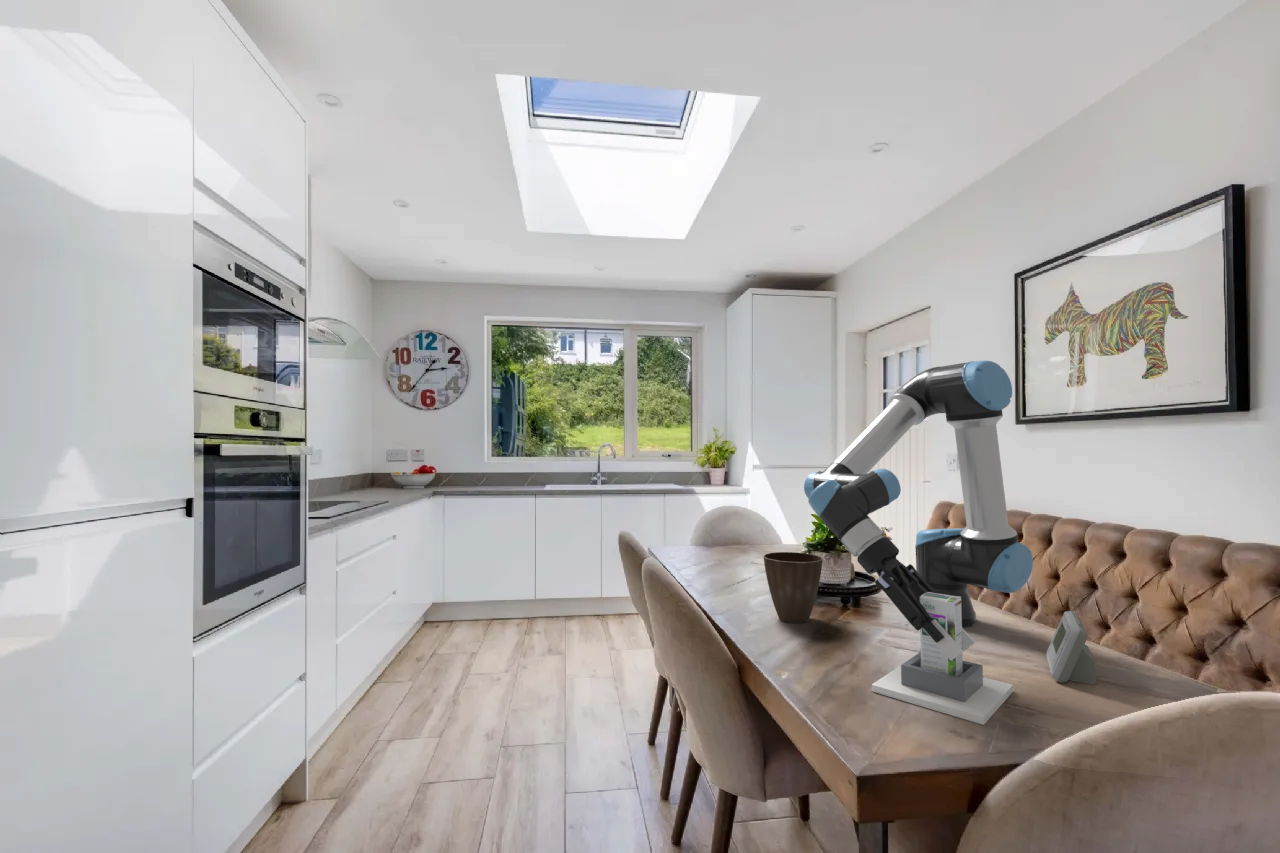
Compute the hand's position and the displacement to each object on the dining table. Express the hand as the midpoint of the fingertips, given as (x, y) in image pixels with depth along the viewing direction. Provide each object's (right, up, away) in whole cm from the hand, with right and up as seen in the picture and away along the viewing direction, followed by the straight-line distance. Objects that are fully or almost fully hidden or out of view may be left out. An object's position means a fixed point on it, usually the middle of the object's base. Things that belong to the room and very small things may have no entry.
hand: (963, 651), depth 102 cm
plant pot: (-18, -10, +47) cm, 51 cm away
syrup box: (-3, -6, +2) cm, 7 cm away
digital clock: (+27, -9, +11) cm, 30 cm away
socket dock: (-3, -8, +2) cm, 9 cm away
